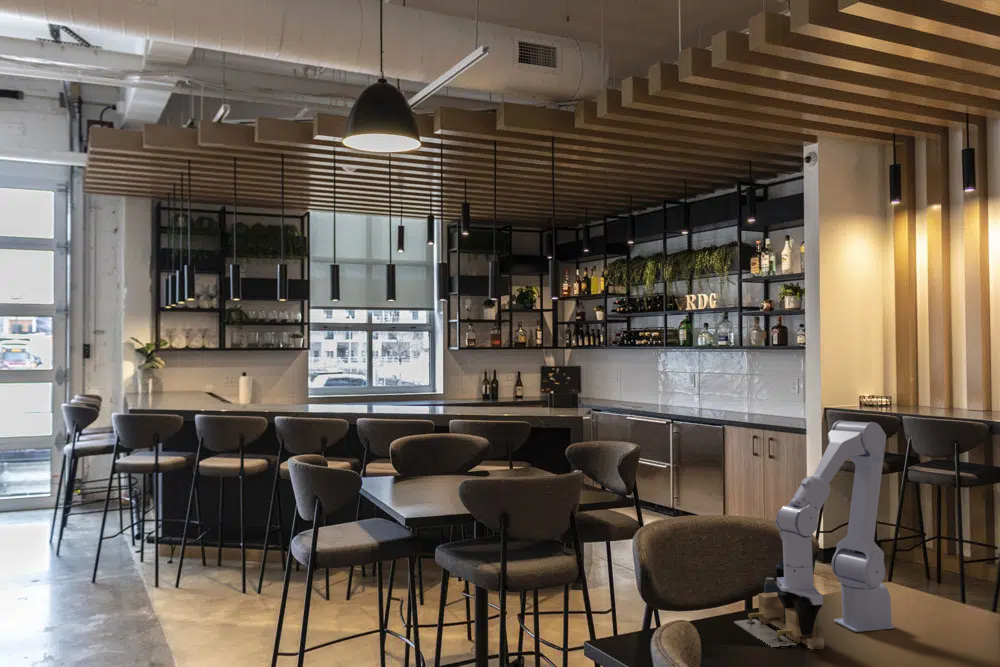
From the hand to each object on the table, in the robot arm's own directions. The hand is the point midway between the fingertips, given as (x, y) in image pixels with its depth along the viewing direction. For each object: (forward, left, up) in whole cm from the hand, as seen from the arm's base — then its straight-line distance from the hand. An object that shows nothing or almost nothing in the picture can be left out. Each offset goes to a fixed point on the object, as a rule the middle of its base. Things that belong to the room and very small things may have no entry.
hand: (800, 630), depth 171 cm
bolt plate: (+5, -5, -2) cm, 8 cm away
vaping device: (-4, -17, -2) cm, 18 cm away
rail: (0, -5, -2) cm, 5 cm away
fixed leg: (+2, -12, -2) cm, 12 cm away
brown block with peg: (+2, 0, -2) cm, 2 cm away
